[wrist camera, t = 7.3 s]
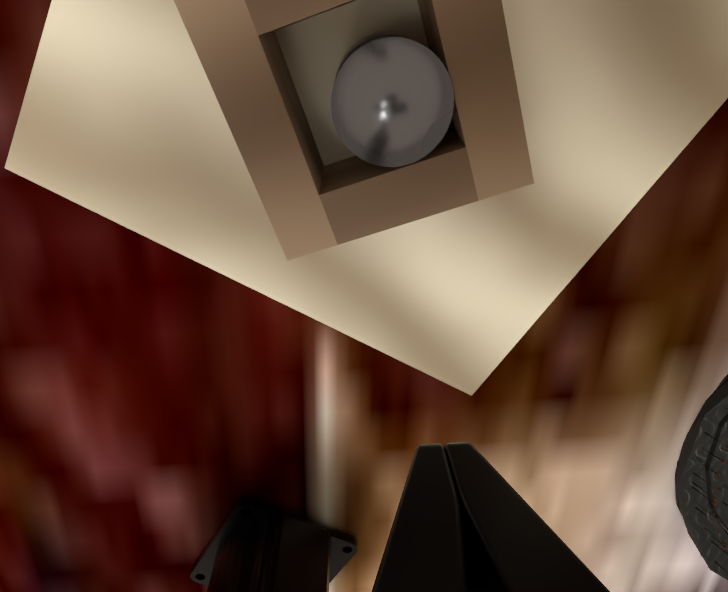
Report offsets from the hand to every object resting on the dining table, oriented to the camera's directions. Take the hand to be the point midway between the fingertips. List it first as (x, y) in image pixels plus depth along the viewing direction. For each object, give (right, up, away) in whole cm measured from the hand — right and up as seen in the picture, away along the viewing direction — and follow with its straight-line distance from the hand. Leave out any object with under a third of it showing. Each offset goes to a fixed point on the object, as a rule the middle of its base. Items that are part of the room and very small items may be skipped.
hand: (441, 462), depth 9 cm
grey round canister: (-1, +9, +8) cm, 12 cm away
